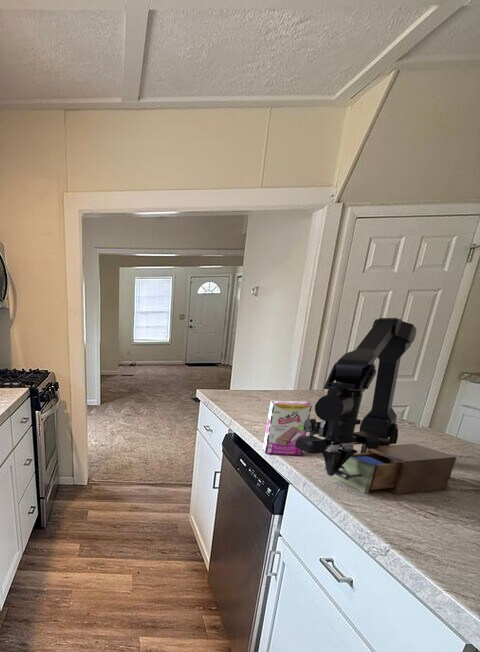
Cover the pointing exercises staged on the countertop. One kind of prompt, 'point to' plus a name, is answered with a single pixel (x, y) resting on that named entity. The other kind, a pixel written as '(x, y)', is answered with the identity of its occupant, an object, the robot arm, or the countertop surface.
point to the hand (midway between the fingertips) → (330, 475)
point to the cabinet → (418, 467)
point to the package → (369, 460)
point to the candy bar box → (285, 426)
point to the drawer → (368, 473)
